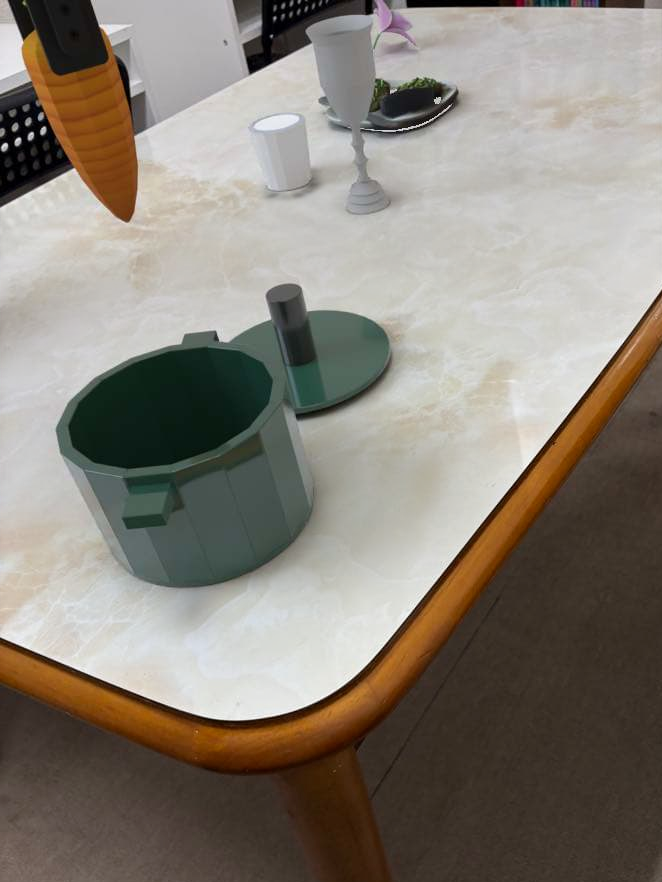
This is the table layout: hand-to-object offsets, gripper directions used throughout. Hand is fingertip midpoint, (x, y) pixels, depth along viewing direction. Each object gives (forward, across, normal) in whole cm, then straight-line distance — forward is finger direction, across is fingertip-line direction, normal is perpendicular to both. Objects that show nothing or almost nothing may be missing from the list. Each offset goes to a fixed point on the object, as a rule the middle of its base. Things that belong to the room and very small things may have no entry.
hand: (67, 56), depth 49 cm
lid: (+27, -4, +11) cm, 29 cm away
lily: (+28, -81, +66) cm, 108 cm away
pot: (+28, +9, -3) cm, 29 cm away
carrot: (+10, 0, 0) cm, 10 cm away
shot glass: (+28, -44, +28) cm, 59 cm away
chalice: (+28, -30, +32) cm, 52 cm away
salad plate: (+28, -54, +50) cm, 79 cm away
